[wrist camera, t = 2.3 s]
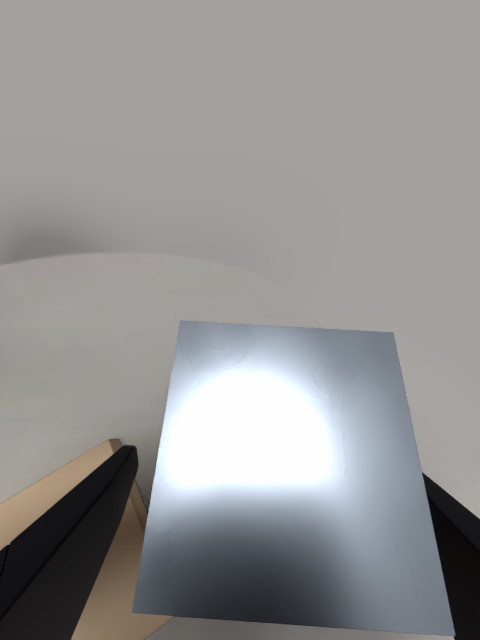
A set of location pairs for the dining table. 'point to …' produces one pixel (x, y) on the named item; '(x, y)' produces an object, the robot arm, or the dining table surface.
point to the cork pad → (121, 560)
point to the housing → (290, 485)
